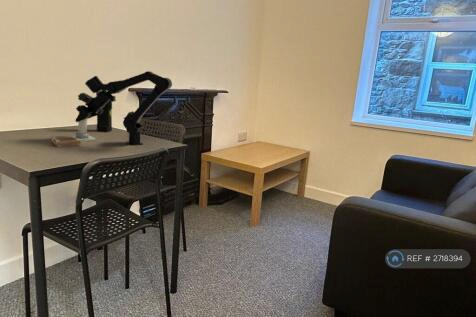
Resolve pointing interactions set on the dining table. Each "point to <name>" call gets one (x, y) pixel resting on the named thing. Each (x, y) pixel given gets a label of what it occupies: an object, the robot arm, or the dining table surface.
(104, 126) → the portable radio
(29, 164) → the dining table surface
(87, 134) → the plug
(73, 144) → the brown wooden square tray
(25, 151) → the dining table surface
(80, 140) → the pad
